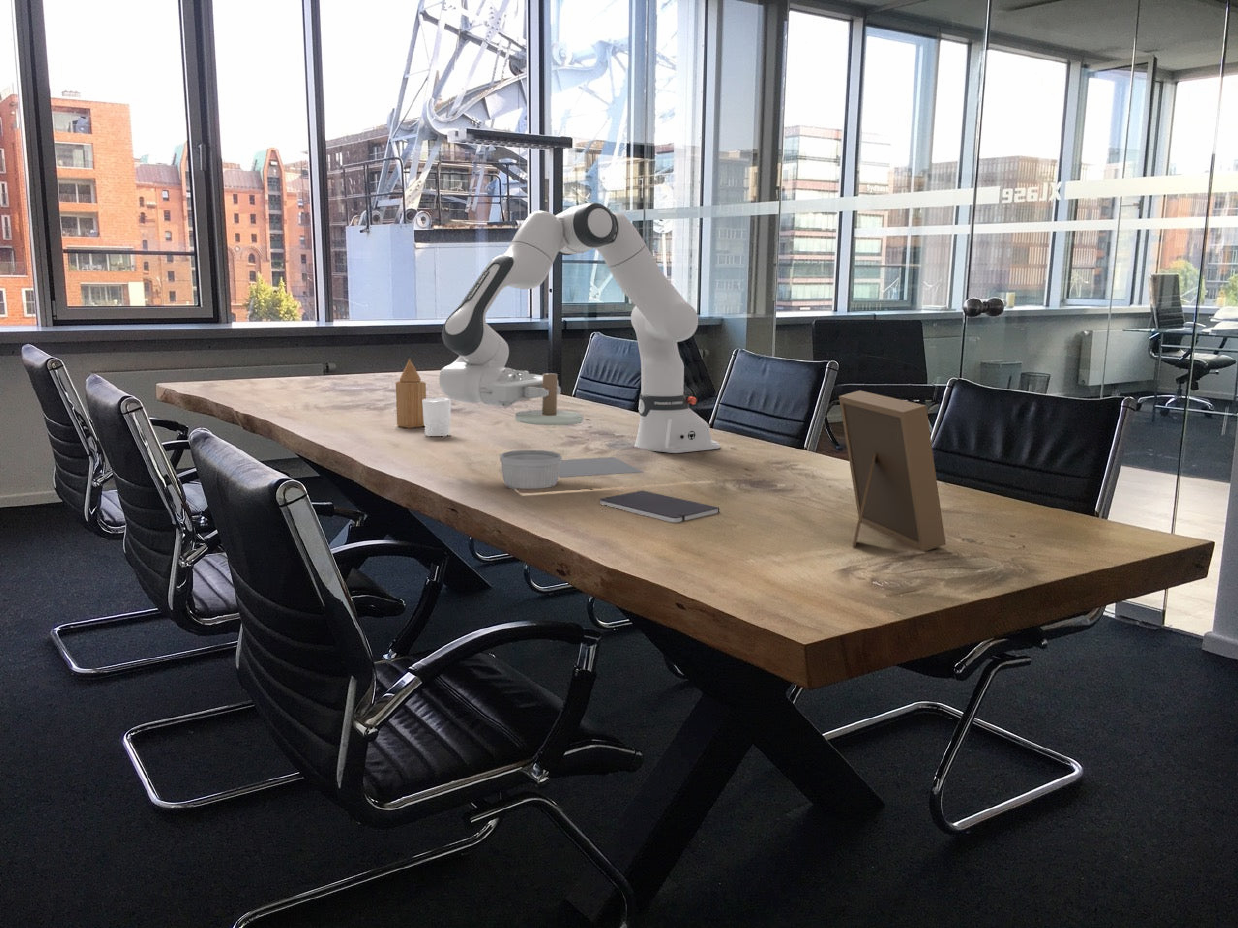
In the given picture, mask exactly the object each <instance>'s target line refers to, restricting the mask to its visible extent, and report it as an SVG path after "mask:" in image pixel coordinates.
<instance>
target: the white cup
mask: <svg viewBox="0 0 1238 928" xmlns="http://www.w3.org/2000/svg"><path fill="white" fill-rule="evenodd" d="M451 403H452V399H451V398H449V397H448V398H447V397H446V398H445V397H429V398H428V397H426V399H423V400H422V406H423V420H424V426H425V427H424V435H425V437H430V436H443V437H447V435H448V436H449V435H450V430H451V429H450V426H451V408H452V407H451V406H452V405H451Z"/></svg>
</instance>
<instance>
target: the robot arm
mask: <svg viewBox="0 0 1238 928" xmlns="http://www.w3.org/2000/svg"><path fill="white" fill-rule="evenodd" d="M593 249H595V251H597V252H598V253H600V255H601V257H602V258H603V260H604V262H605V264H606V266H607V268H608V270H609V272H610V273H611V275H612V276H613V278H614V279H615V282H616V283H617V285H618V286H619V288H620V291H621V292H622V293H623V294H624V295H625V297H627V298H628V299H629V300H630V301H631V302H632V304H634V307H633V309H632V311H631V313H630V314H631V315H630V322H631V325H632V328H633V329H634V331H635V336H636V340H637V346H638V351H639V357H640V365H641V367H640V370H641V372H640V373H641V376H640V377H641V381H640V382H641V383H640V385H641V386H640V387H641V390H640V393H639V401H638V410H639V411H638V413H639V424H638V431H637V435H636V440H635V442H634V447H635V448H638V449H641V450H648V451H651V452H659V453H661V452H662V453H663V452H664V453H668V454H669V453H670V454H679V453H688V452H689V453H690V452H697V451H698V452H699V451H709V450H717V449H720V443H719V442H717V441H715V440H713V439H712V435H711V428H710V425H709V423H708V422H707V421H706V420H705V419H703V418H702V417H700V416H699V415H698V414H697V413H696V412H695V411H693V410H692V409H691V408H690V405H696V403H697V398H696V397H695V396H692V395H690V396H688V395H686V394H684V390H685V389H684V384H685V383H684V381H685V380H684V379H685V377H684V376H685V365H684V362H683V359H682V358H681V356H680V351H679V347H678V343H679V342H683V341H686V340H688V339H689V338H691V337H693V335H694V334H695V333H696V330H697V329H698V325H699V317H698V313H697V312H696V309H695V308H694V307H693V306H692V305H690V304H689V303H688V302H687V301H686V299H685V298H683V296H682V295H681V294H680V292H679V291H678V290H677V288H675V286H674V285H673V284H672V283H671V281H670V280H669V279H668V277H667V276H666V275H665V274H664V272H663V271H662V270H661V269H660V267H659V265H658V263H657V261H656V260H655V258H654V257H653V255H652V253H651V251H650V250H649V248H648V246H647V244H646V242H645V241H644V239H643V237H642V236H641V234H640V232H639V231H638V230H637V228H636V226H634V224H633V223H632V222H631V220H630V219H628V217H627V216H626V215H625V214H623V213H621V212H612V211H611V210H610V209H609V208H608V207H607V206H606V205H604V204H602V203H598V202H585V203H583V204H578V205H573V206H571V207H568V208H567V209H565V210H563V211H561V212H560V211H559V212H558V213H555V214H553V212H552V213H551V212H550V211H546V210H535V211H533V212H532V211H531V213H530V214H528V216H527V217H526V219H525V220H524V221H523V222H522V224H521V225H520V226H519V228H518V230H517V231H516V233H515V234H514V236H513V238H512V240H511V242H510V244H509V246H508V247H507V249H506V251H505V252H504V253H502V254H500V255H497V256H495V257H494V258H492V259H491V260H490V262H489V263H488V264H487V266H485V268H484V269H483V270H482V272H481V273H480V275H479V276H478V278H477V280H476V281H475V282H474V284H473V285H472V286H471V287H470V290H469V291H468V293H467V294H466V295H465V297H464V298H463V300H462V302H461V303H460V305H459V306H458V307H457V308H456V309H455V310H454V311H453V312H452V313H451V314H450V315H449V316H448V317H447V318H446V320H445V321H444V324H443V326H442V333H441V337H442V339H441V340H442V343H443V344H444V346H445V347H446V348H447V349H448V350H450V351H451V352H453V353H455V354H456V355H458V357H457V358H456V359H455V360H454V361H452V362H451V363H449V364H448V365H445V366H444V367H442V369H441V370H440V372H439V378H438V380H439V381H438V382H439V386H440V388H441V391H442V392H443V394H444V395H445V396H446V398H447V397H448V399H451V400H453V401H457V402H463V403H467V404H479V403H481V404H484V405H488V406H494V407H495V406H496V407H505V408H507V407H510V406H512V405H513V404H515V403H517V402H519V401H523V400H529V399H536V398H542V397H547V396H549V389H548V388H543V374H542V375H541V374H535V373H530V371H528V370H524V369H523V370H522V369H520V370H519V369H517V370H516V369H514V368H510V367H506V365H507V362H508V360H509V357H510V347H509V344H508V342H507V341H506V340H505V339H504V338H503V337H502V336H501V335H500V334H499V333H498V332H497V331H496V330H494V329H493V328H492V327H491V326H490V325H489V324H488V323H487V320H486V315H487V312H488V311H489V309H490V308H491V306H492V305H493V303H494V302H495V300H496V299H497V297H498V296H499V294H500V293H501V291H502V290H504V288H506V287H510V288H515V289H521V290H530V289H534V288H537V287H539V286H540V285H542V284H543V282H544V281H545V280H546V278H547V276H548V275H549V273H550V270H551V269H552V267H553V264H554V263H555V260H556V258H557V255H562V256H571V255H575V254H582V253H585V252H588V251H590V250H593ZM561 391H562V389H561V386H559V379H557V396H559V395H560V394H561V393H562V392H561Z"/></svg>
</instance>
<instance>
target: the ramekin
mask: <svg viewBox="0 0 1238 928" xmlns="http://www.w3.org/2000/svg"><path fill="white" fill-rule="evenodd" d="M561 460H562V455H561V453H560V452H559V453H558V452H555V451H551V450H544V449H516V450H509V451H505V452H502V453H501V454H500V455H499V461H500V463H501V473H502V479H503V483H504V485H505V486H506V487H507V488H508V487H509V489H510V488H511V490H514V489H516V490H515V491H518V489H523V490H524V489H525V490H527V489H528V490H533V489H544V488H545V489H546V488H550V487H554V486H556V485H557V484H558V481H559V469H560V462H561Z"/></svg>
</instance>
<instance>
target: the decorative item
mask: <svg viewBox="0 0 1238 928" xmlns="http://www.w3.org/2000/svg"><path fill="white" fill-rule="evenodd" d="M421 380H422V379H421V377H420V375H419V374H418V372H417V370H416V368H415V366H414V363H413V362H412V360H411V358H409V359H408V361H407V363H406V365H405V368H404V369H403V371H402V373H401V375H400V378H399V380H398V381H396V382H395V397H396V398H395V400H396V401H395V402H396V425H397V426H398V427H401V428H405V427H406V428H405V429H413V428H414V427H416V428H423V427H422V426H424V420H423V406H422V400H423V399H427V390H426V389H427V383H426V382H425V381H421Z"/></svg>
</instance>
